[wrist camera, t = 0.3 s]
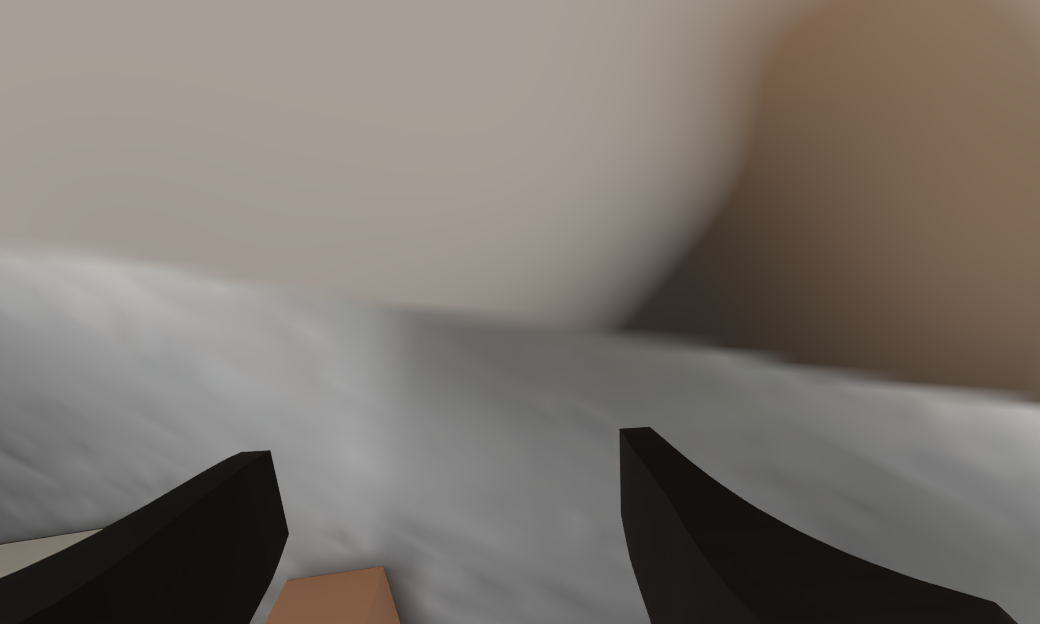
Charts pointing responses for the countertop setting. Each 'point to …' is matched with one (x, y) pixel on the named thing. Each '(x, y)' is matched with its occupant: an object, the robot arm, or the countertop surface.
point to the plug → (337, 599)
